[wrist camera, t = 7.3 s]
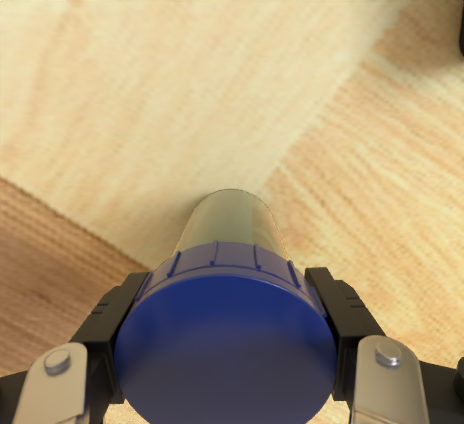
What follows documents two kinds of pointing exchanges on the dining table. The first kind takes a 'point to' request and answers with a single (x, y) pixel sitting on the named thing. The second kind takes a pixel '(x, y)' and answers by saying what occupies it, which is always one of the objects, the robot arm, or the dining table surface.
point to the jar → (232, 222)
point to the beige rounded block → (462, 35)
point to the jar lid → (226, 341)
